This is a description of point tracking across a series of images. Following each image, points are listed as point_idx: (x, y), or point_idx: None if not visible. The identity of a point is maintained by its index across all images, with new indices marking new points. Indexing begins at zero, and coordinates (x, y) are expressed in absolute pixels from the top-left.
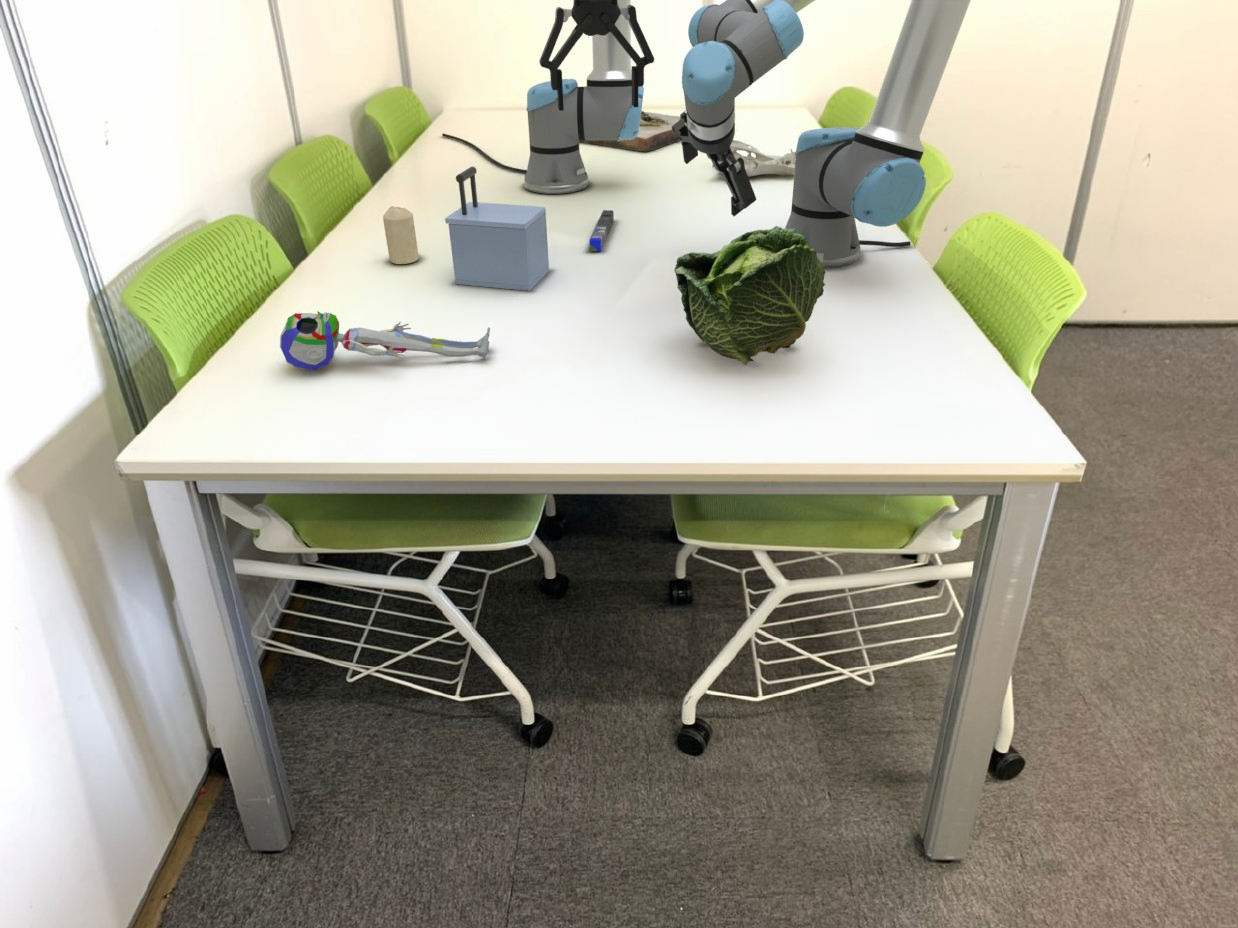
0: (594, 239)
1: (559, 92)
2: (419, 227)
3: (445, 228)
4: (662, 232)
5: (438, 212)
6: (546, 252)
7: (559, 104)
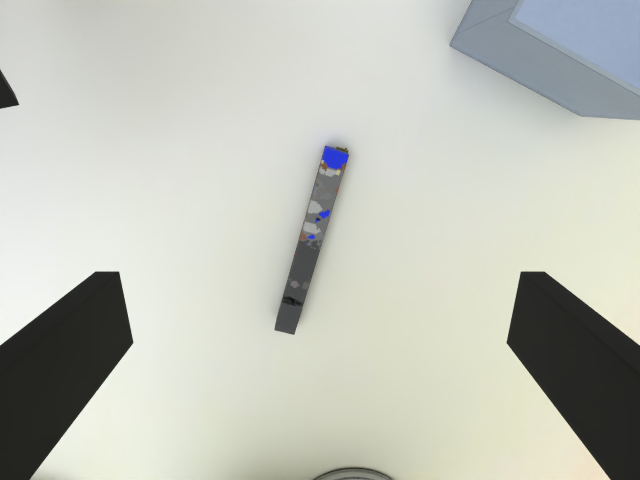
0: (337, 157)
1: (607, 325)
2: None
3: None
4: (188, 241)
5: None
6: (470, 27)
7: (561, 289)
